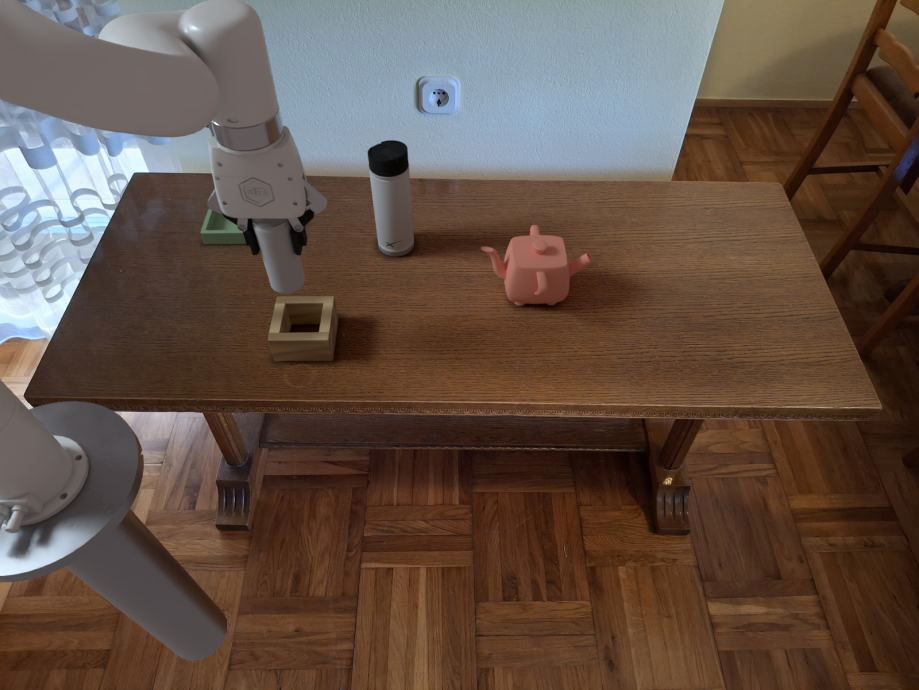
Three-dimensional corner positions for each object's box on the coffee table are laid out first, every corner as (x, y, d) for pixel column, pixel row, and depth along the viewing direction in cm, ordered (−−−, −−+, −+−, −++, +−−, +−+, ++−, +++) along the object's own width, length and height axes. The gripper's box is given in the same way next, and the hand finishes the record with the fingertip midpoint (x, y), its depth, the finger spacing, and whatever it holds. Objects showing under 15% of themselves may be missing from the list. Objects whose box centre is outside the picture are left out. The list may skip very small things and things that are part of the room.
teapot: (539, 251, 114) (545, 205, 106) (590, 289, 108) (600, 244, 100) (478, 289, 108) (479, 244, 100) (528, 332, 102) (533, 287, 95)
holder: (333, 360, 99) (328, 339, 95) (274, 361, 98) (267, 340, 95) (338, 317, 104) (334, 295, 100) (283, 317, 104) (276, 296, 100)
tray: (282, 243, 115) (279, 232, 113) (204, 244, 115) (199, 233, 112) (292, 198, 123) (289, 186, 121) (219, 198, 122) (215, 187, 120)
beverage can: (279, 301, 89) (259, 233, 80) (265, 280, 92) (245, 212, 82) (311, 287, 91) (296, 220, 82) (297, 267, 93) (280, 199, 84)
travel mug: (394, 263, 112) (385, 165, 96) (371, 244, 115) (358, 145, 99) (422, 246, 114) (417, 148, 99) (398, 228, 117) (390, 130, 102)
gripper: (160, 143, 69) (207, 267, 83) (320, 144, 70) (340, 268, 84) (178, 105, 74) (219, 229, 88) (328, 107, 75) (346, 229, 89)
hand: (278, 247), depth 86 cm, fingers closed on beverage can, 4 cm apart
